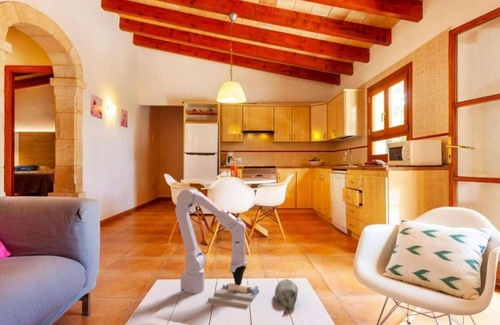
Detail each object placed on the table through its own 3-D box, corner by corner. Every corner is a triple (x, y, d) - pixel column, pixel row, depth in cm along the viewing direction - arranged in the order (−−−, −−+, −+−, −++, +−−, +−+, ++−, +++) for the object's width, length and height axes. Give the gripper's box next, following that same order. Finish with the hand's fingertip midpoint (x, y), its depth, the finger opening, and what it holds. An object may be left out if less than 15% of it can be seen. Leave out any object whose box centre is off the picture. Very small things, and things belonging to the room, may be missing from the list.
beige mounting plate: (206, 307, 114) (206, 295, 114) (224, 289, 131) (224, 279, 131) (245, 313, 109) (246, 301, 109) (259, 294, 126) (260, 283, 126)
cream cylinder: (225, 292, 123) (225, 283, 123) (229, 290, 127) (229, 281, 127) (248, 296, 120) (248, 287, 120) (251, 293, 123) (251, 284, 124)
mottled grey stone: (302, 304, 110) (290, 277, 113) (278, 314, 110) (267, 287, 114) (304, 298, 122) (293, 274, 126) (283, 307, 123) (273, 283, 127)
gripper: (241, 256, 116) (241, 292, 115) (252, 247, 130) (252, 279, 129) (224, 254, 118) (224, 289, 118) (237, 246, 132) (237, 277, 131)
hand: (238, 284), depth 124 cm, fingers closed, pressing on cream cylinder
